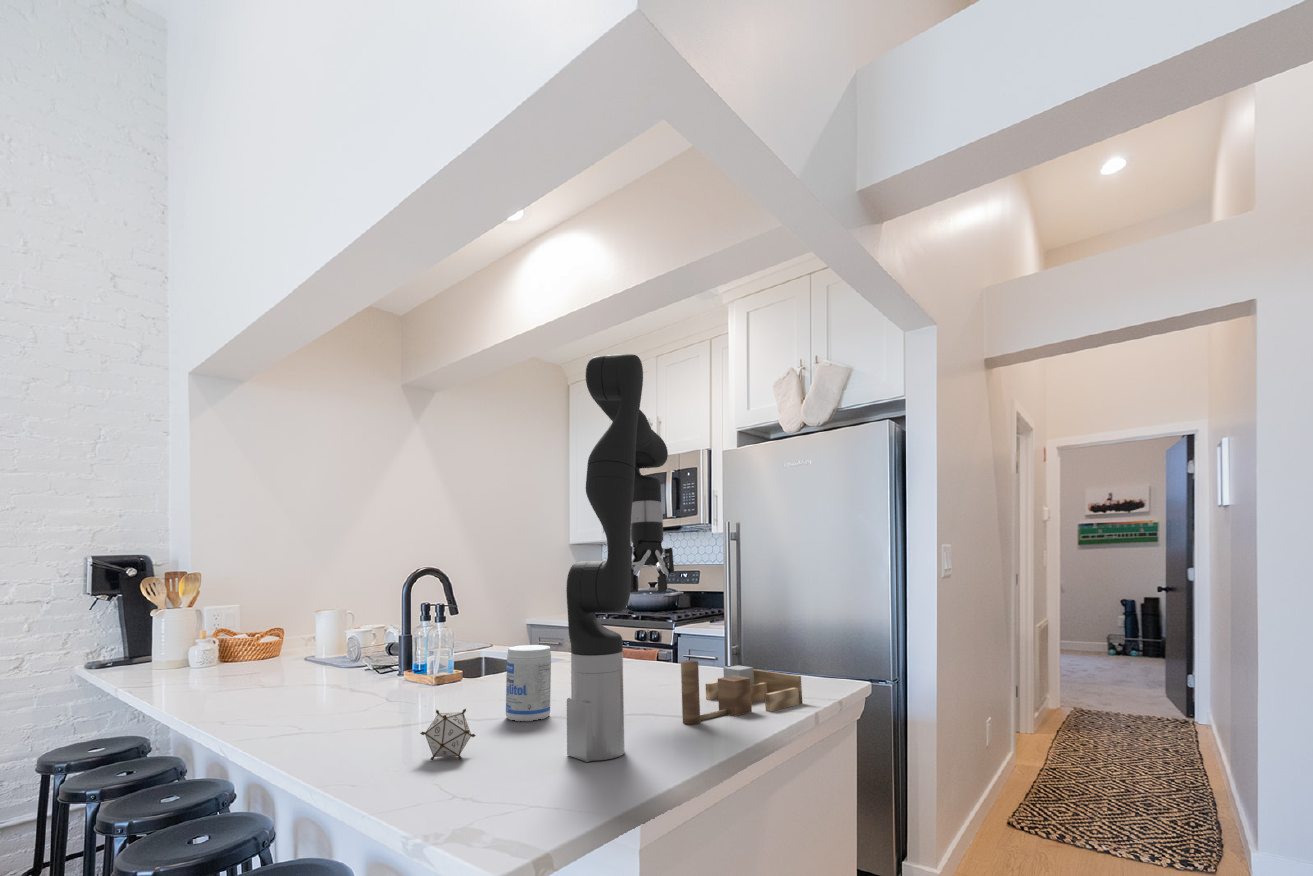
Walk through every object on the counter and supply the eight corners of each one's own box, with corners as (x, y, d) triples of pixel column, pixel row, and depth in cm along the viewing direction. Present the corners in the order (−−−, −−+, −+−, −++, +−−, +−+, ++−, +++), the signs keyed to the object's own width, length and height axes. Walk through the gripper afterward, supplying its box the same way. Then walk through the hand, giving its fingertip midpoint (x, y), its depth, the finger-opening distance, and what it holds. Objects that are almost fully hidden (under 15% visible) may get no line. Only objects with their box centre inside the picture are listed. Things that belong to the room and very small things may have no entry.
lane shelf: (769, 711, 152) (768, 682, 153) (706, 699, 166) (705, 672, 167) (802, 703, 159) (800, 675, 160) (738, 692, 173) (737, 666, 174)
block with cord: (693, 726, 141) (691, 664, 143) (676, 722, 145) (674, 661, 146) (751, 712, 152) (749, 654, 154) (734, 708, 156) (732, 652, 158)
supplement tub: (497, 721, 150) (497, 649, 152) (520, 711, 158) (520, 644, 161) (537, 724, 146) (537, 650, 149) (558, 713, 155) (558, 644, 157)
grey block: (740, 701, 163) (738, 670, 164) (724, 698, 166) (723, 668, 168) (754, 698, 166) (753, 667, 167) (739, 695, 170) (737, 665, 171)
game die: (456, 778, 124) (490, 725, 128) (445, 773, 117) (481, 717, 121) (416, 750, 126) (451, 699, 130) (402, 744, 119) (440, 690, 123)
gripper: (633, 518, 158) (635, 592, 154) (679, 522, 167) (682, 591, 163) (613, 521, 163) (613, 593, 160) (658, 525, 173) (660, 593, 169)
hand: (648, 592), depth 161 cm, fingers open, 8 cm apart
